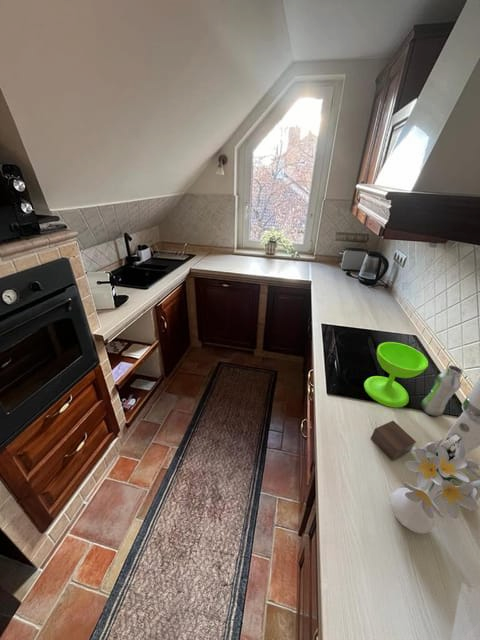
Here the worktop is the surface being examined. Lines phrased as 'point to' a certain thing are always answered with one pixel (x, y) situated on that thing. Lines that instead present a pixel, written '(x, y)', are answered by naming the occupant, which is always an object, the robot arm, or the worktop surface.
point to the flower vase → (435, 487)
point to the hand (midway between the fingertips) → (453, 452)
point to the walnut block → (392, 440)
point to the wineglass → (395, 373)
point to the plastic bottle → (442, 391)
